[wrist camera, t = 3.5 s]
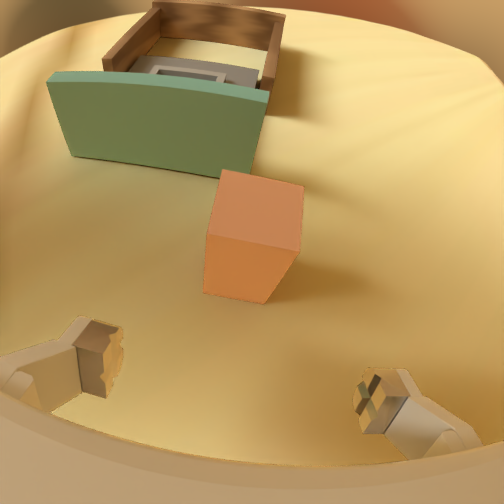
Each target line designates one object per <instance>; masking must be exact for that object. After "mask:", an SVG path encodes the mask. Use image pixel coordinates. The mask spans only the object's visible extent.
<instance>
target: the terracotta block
mask: <svg viewBox="0 0 504 504" xmlns="http://www.w3.org/2000/svg"><path fill="white" fill-rule="evenodd" d="M303 199H304V186H301V185H296V184H292V183H287V182H283V181H278V180H274V179H269V178H264V177H260V176H255V175H250V174H245V173H240V172H235V171H230V170H224V169H222V172H221V176H220V180H219V184H218V189H217V193H216V197H215V201H214V205H213V209H212V213H211V218H210V222H209V226H208V230H207V237H206V252H205V267H204V285H203V293H206V294H211V295H216V296H221V297H227V298H232V299H238V300H243V301H249V302H254V303H260V304H265V302H266V301H267V300H268V298H269V297H270V295H271V294H272V292H273V291H274V289H275V288H276V286H277V285H278V284H279V282H280V281H281V279H282V278H283V276H284V275H285V273H286V272H287V270H288V269H289V267H290V266H291V264H292V263H293V261H294V260H295V258H296V257H297V255H298V254H299V252H300V244H301V230H302V215H303Z"/></svg>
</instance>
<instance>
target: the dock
mask: <svg viewBox="0 0 504 504" xmlns="http://www.w3.org/2000/svg"><path fill="white" fill-rule="evenodd" d="M285 18H286V15H284V14H280V13H275V12H270V11H265V10H260V9H254V8H248V7H242V6H235V5H228V4H220V3H210V2H200V1H188V0H187V1H186V0H154V1H153V3H152V9H151V10H150V11H148V12H147V13H146V14H145V15H144V16H143V17H142V18H141V19H140V20H139V21H138V22H137V23H136V24H135V25H134V26H132V27H131V28H130V29H129V30H128V31H127V32H126V33H125V34H124V35H123V37H122V38H121V39H120V40H119V41H118V42H117V43H116V44H115V45H114V46H113V47H112V48H111V49H110V50H109V51H108V52H107V53H106V55H105V56H104V57H103V58H102V63H103V69H104V71H105V72H128V71H129V70H130V68H131V67H132V66H133V65H134V63H135V62H136V61H137V59H138V58H139V57H140V56H141V55H146V54H147V53H148V51H149V50H150V49H151V48H152V46H153V45H154V44H155V43H156V42H157V40H158V39H159V38H160V37H170V38H183V39H193V40H202V41H210V42H218V43H225V44H231V45H237V46H243V47H249V48H254V49H260V50H265V51H268V53H267V57H266V62H265V66H264V70H263V75H262V79H261V84H260V88H259V89H260V90H264V91H269V98H270V95H271V91H272V87H273V83H274V79H275V74H276V68H277V62H278V56H279V50H280V44H281V38H282V33H283V27H284V22H285ZM269 98H268V102H269ZM267 106H268V103H267ZM266 110H267V107H266ZM265 114H266V111H265Z"/></svg>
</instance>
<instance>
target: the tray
mask: <svg viewBox="0 0 504 504" xmlns="http://www.w3.org/2000/svg"><path fill="white" fill-rule="evenodd" d="M258 73H259V70H256V69H251V68H245V67H240V66H234V65H228V64H221V63H215V62H208V61H200V60H192V59H183V58H173V57H161V56H146V55H141V56H140V57H139V58H138V59H137V61H136V62H135V63H134V65H133V66H132V67H131V68H130V70H129V71H128V72H105V71H66V72H55V73H54V74H53V75H52V76H51V77H50V78H49V79H48V80H47V82H46V84H47V87H48V90H49V93H50V97H51V100H52V103H53V106H54V109H55V112H56V115H57V118H58V120H59V123H60V126H61V129H62V132H63V134H64V137H65V140H66V142H67V145H68V148H69V150H70V153H71V156H78V157H87V158H95V159H103V160H111V161H118V162H125V163H132V164H139V165H146V166H152V167H159V168H165V169H171V170H177V171H183V172H189V173H195V174H200V175H206V176H211V177H217V178H220V176H221V172H222V169H224V170H230V171H235V172H240V173H245V174H250V171H251V167H252V163H253V159H254V155H255V151H256V147H257V143H258V139H259V135H260V131H261V127H262V123H263V119H264V115H265V111H266V107H267V103H268V98H269V91H264V90H260V89H255V86H256V82H257V78H258Z"/></svg>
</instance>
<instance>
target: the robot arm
mask: <svg viewBox="0 0 504 504" xmlns="http://www.w3.org/2000/svg"><path fill="white" fill-rule="evenodd" d="M122 339H123V329H122V327H120V326H116V325H112V324H109V323H106V322H102V321H99V320H95V319H92V318H88V317H85V316H81V315H80V316H77V318H76V319H75V320H74V321H73V322H72V323H71V325H70V326H69V327H68V328H67V329H66V331H65V332H64V333H63V334H62V335H61V337H60V338H59V339H58V340H54V339H53V340H50V341H47V342H44V343H41V344H38V345H35V346H32V347H28V348H25V349H22V350H19V351H16V352H13V353H10V354H7V355H4V356H0V504H504V441H500V442H497V443H493V444H489V445H485V446H484V445H483V444H482V442H481V440H480V439H479V437H478V436H477V434H476V432H475V431H474V429H473V427H472V426H470V425H469V424H467V423H466V422H464V421H463V420H461V419H460V418H458V417H457V416H455V415H454V414H452V413H451V412H449V411H448V410H446V409H445V408H443V407H442V406H440V405H439V404H437V403H435V402H434V401H432V400H431V399H429V398H428V397H423V395H422V394H421V392H420V390H419V388H418V387H417V385H416V384H415V382H414V380H413V379H412V377H411V375H410V374H409V372H408V370H406V369H404V368H393V369H387V368H370V367H368V368H367V369H366V370H365V372H364V374H363V376H362V378H363V382H362V383H361V384H359V385H358V386H357V387H356V390H355V392H354V395H353V407H354V410H355V412H356V413H358V414H359V415H360V417H359V419H358V422H359V425H360V427H361V430H362V433H363V434H384V436H385V437H386V438H387V439H388V440H389V441H390V442H391V443H392V444H393V445H394V446H395V447H396V448H397V449H398V450H399V451H400V452H401V453H402V454H403V455H404V456H405V457H406V458H407V459H408V460H407V461H399V462H390V463H379V464H365V465H344V466H299V465H277V464H263V463H251V462H241V461H233V460H225V459H218V458H211V457H204V456H198V455H193V454H187V453H182V452H177V451H172V450H167V449H163V448H158V447H154V446H150V445H145V444H141V443H138V442H134V441H130V440H126V439H123V438H119V437H116V436H112V435H109V434H106V433H103V432H100V431H96V430H93V429H90V428H87V427H84V426H82V425H79V424H76V423H73V422H70V421H68V420H65V419H63V418H60V417H57V416H55V415H52V414H50V412H51V411H53V410H55V409H56V408H58V407H60V406H61V405H63V404H65V403H66V402H68V401H70V400H71V399H73V398H75V397H76V396H78V395H79V394H81V393H82V392H86V393H89V394H92V395H96V396H99V397H103V398H107V397H108V395H109V393H110V390H111V388H112V386H113V378H114V377H116V376H118V374H119V372H120V369H121V365H122V361H123V348H122V347H121V345H120V343H121V341H122Z"/></svg>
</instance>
